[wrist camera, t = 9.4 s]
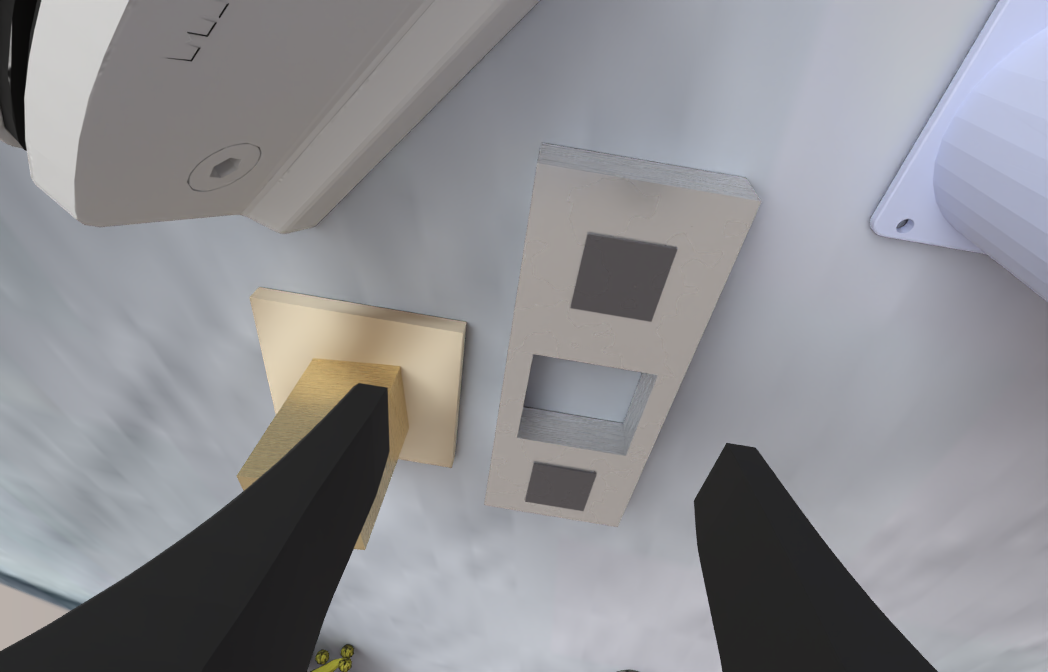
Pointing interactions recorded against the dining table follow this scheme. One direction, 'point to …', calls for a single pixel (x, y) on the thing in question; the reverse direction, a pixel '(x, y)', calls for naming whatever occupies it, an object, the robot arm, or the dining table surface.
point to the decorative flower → (335, 660)
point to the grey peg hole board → (609, 317)
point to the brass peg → (313, 403)
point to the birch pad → (369, 358)
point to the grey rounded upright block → (226, 98)
